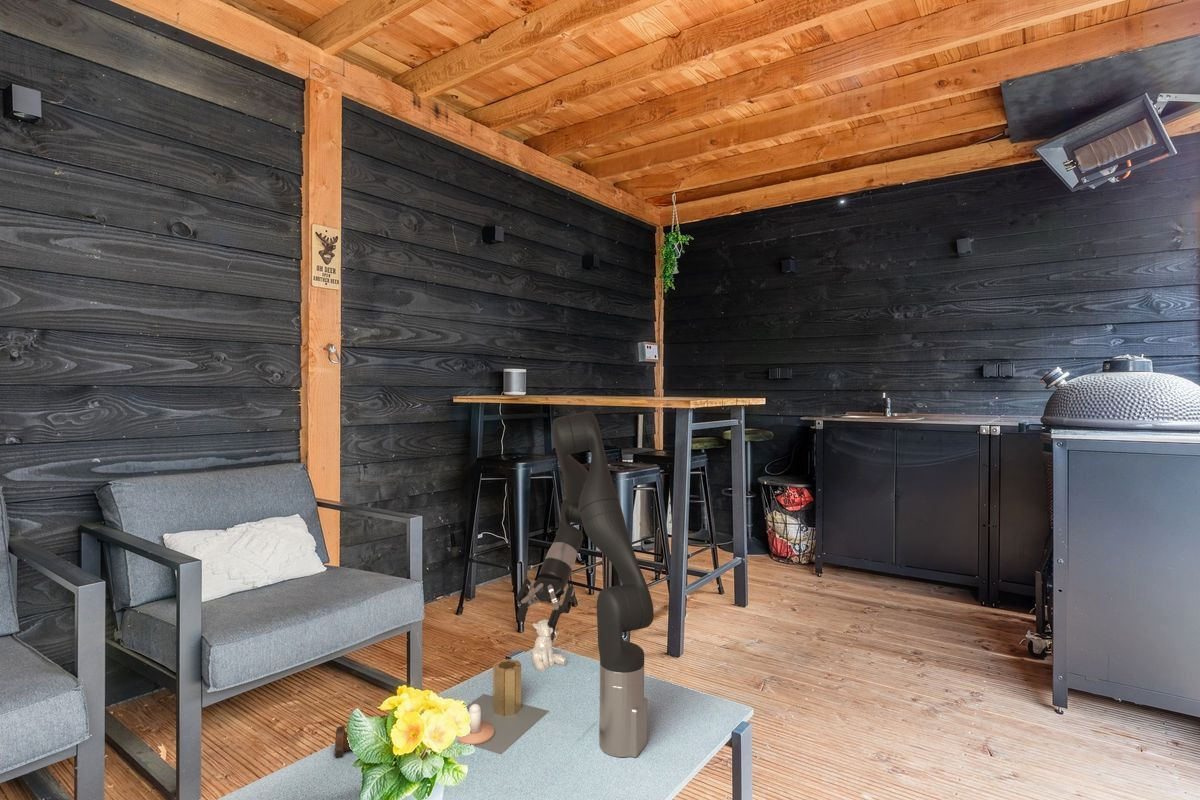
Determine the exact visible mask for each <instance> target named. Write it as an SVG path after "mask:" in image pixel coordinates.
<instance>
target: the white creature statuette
mask: <svg viewBox="0 0 1200 800" xmlns="http://www.w3.org/2000/svg"><path fill="white" fill-rule="evenodd" d="M548 621H549V619H546V618H544V619H541V620H538V622H537V623H532V627H533V628H534V629H536V630H535V631H536V634H537V637H536V639H535V642H534V646H533V648H532V651H531V653H530V654H531V656H530V657H531V661H532V664H533V666H534V669H535V671H539V672H543V673H544V672H545V671H546V670H548V669H549V668H553V667H554V668H555V667H556V666H562V667H565V666H567V661H568V660H567V658H566V657H564V656H563V655H562V654H560V653H555V652H554V651H553V649H554V648H553V646H554V645H553V641H552V637H551V636H552V634H553V632H554V627H553V628H549V626H548Z"/></svg>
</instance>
